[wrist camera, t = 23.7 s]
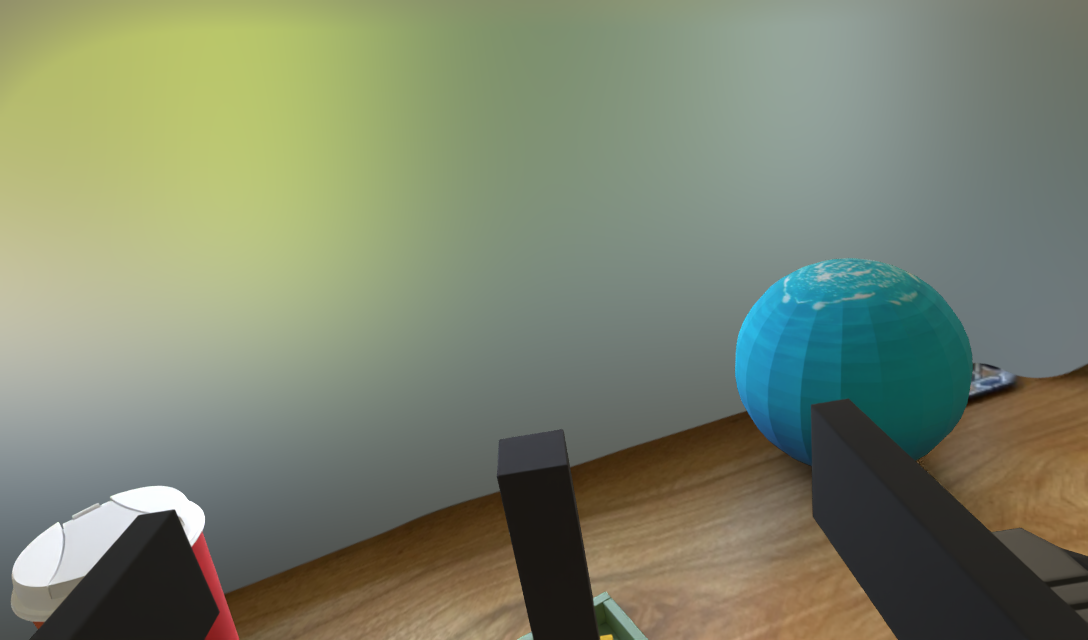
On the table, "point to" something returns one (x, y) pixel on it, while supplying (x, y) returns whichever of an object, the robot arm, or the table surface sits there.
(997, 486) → the table surface
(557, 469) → the sponge wand
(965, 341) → the decorative orb
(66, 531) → the paper cup
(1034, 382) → the table surface
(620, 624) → the green rectangular tray
